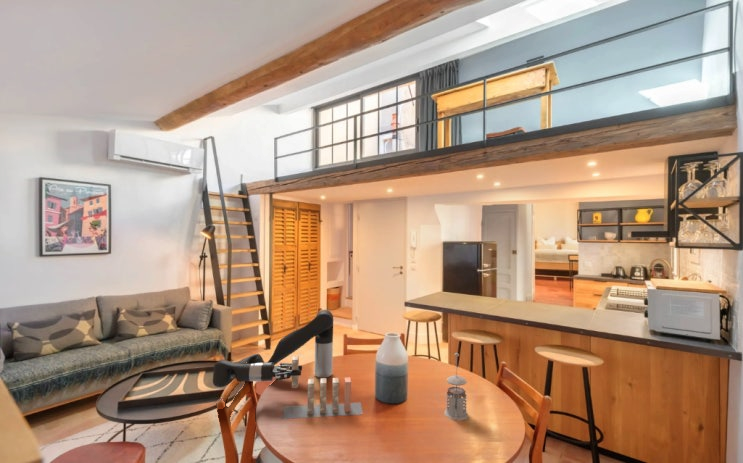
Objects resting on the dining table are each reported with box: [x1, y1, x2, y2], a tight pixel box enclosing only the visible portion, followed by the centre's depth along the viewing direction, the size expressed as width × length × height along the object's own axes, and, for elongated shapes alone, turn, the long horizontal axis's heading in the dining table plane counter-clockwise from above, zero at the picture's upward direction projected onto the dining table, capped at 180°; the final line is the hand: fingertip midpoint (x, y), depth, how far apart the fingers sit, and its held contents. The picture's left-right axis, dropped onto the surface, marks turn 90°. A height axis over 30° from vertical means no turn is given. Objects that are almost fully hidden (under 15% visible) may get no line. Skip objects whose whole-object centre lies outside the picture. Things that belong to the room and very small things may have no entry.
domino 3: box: [319, 377, 327, 413], centre depth 141 cm, size 2×5×12 cm, turn 8°
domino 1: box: [291, 355, 300, 389], centre depth 151 cm, size 2×5×12 cm, turn 7°
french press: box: [443, 352, 469, 421], centre depth 140 cm, size 10×12×25 cm
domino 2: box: [307, 378, 315, 414], centre depth 140 cm, size 2×5×12 cm, turn 8°
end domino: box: [343, 376, 352, 412], centre depth 142 cm, size 2×5×12 cm, turn 8°
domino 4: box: [331, 377, 340, 413], centre depth 142 cm, size 2×5×12 cm, turn 8°
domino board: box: [281, 402, 364, 420], centre depth 141 cm, size 10×32×1 cm, turn 98°
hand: (301, 370), depth 151 cm, fingers closed on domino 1, 4 cm apart
